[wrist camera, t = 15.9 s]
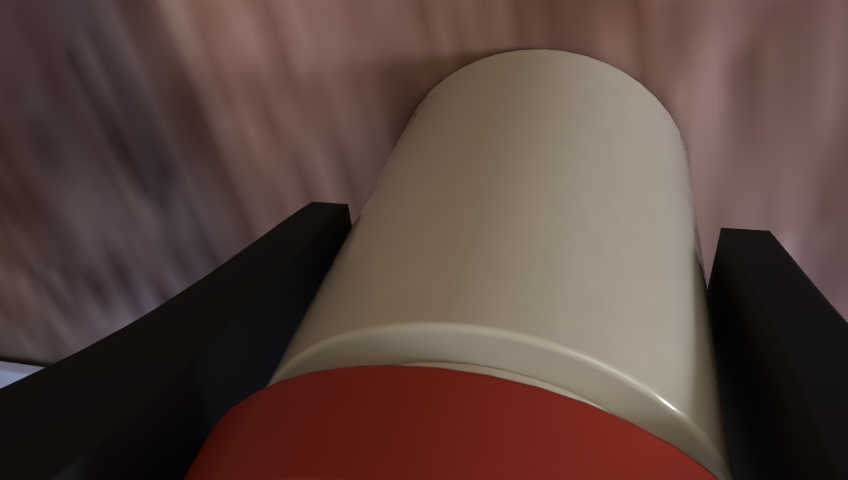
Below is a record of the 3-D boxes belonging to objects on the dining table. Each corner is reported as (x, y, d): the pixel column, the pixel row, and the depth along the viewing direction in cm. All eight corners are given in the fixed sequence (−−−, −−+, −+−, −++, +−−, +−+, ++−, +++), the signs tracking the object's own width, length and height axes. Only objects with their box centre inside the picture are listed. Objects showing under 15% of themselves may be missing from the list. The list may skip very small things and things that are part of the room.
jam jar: (427, 292, 14) (294, 680, 9) (370, 64, 11) (107, 419, 6) (685, 293, 13) (734, 768, 7) (694, 29, 10) (796, 470, 4)
